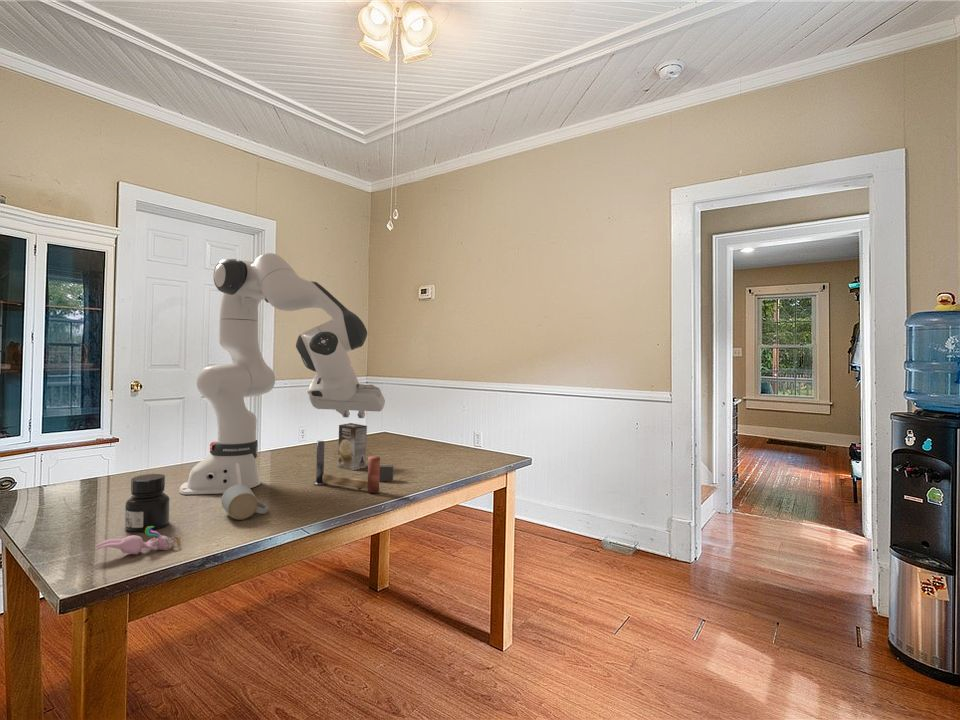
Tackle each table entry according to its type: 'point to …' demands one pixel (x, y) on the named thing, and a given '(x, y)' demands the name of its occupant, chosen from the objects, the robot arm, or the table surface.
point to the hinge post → (319, 463)
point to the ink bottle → (147, 503)
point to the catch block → (386, 473)
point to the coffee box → (352, 446)
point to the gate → (370, 485)
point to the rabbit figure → (140, 542)
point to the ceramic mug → (241, 502)
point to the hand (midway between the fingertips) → (354, 416)
